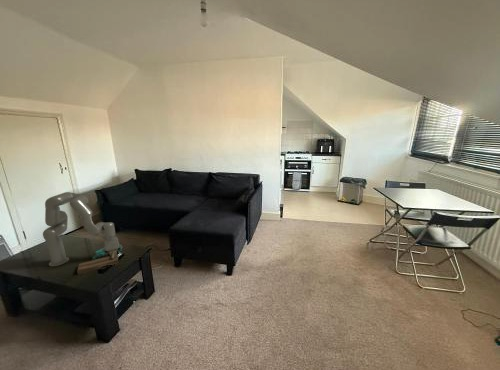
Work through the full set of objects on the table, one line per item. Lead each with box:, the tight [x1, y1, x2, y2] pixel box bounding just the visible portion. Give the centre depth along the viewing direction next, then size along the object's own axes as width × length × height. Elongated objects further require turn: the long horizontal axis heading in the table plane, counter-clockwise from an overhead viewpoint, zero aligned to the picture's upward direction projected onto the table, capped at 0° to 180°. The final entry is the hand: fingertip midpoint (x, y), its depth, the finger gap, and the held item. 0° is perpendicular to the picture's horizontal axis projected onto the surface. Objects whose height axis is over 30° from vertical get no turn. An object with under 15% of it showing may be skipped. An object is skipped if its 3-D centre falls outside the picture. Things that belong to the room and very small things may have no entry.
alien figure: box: [92, 246, 123, 260], centre depth 192 cm, size 20×2×20 cm
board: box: [76, 254, 119, 275], centre depth 170 cm, size 12×26×3 cm, turn 122°
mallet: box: [109, 249, 117, 259], centre depth 178 cm, size 14×5×7 cm, turn 32°
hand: (113, 255), depth 183 cm, fingers closed on mallet, 5 cm apart
